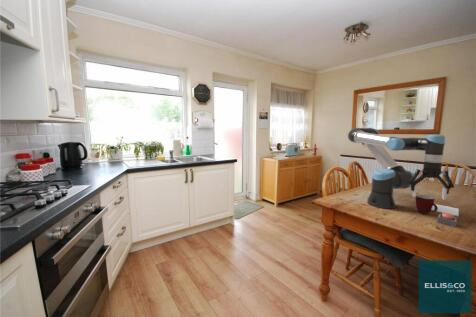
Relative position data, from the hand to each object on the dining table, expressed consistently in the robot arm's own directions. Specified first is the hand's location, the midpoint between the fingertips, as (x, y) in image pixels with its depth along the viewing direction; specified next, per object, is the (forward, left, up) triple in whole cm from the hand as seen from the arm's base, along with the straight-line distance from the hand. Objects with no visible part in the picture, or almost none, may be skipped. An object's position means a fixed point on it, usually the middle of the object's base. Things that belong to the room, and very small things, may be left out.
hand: (428, 197), depth 119 cm
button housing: (+5, -11, -10) cm, 15 cm away
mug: (0, 0, -10) cm, 10 cm away
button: (+5, -11, -8) cm, 14 cm away
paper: (+14, +13, -10) cm, 22 cm away
